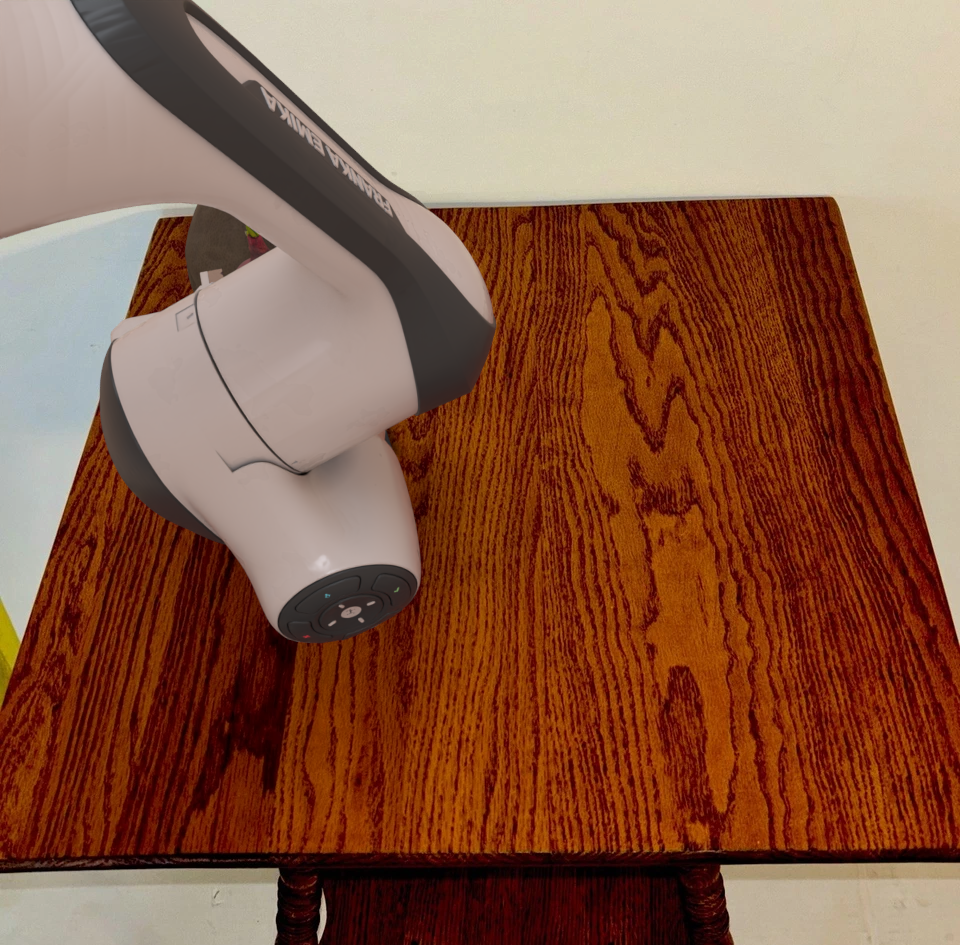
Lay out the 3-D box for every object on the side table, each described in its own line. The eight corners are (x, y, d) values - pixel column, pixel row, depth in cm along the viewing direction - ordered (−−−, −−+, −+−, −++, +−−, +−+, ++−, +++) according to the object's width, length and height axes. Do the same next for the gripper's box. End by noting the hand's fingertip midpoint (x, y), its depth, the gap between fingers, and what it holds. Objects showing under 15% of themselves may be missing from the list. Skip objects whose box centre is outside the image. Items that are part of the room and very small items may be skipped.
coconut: (350, 391, 84) (320, 234, 73) (187, 378, 86) (134, 224, 75) (390, 286, 94) (368, 133, 83) (242, 277, 96) (202, 127, 85)
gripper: (467, 318, 59) (412, 195, 69) (105, 398, 56) (98, 259, 65) (474, 399, 64) (421, 274, 73) (139, 478, 61) (128, 337, 70)
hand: (266, 267), depth 69 cm, fingers closed on vegetable, 6 cm apart
